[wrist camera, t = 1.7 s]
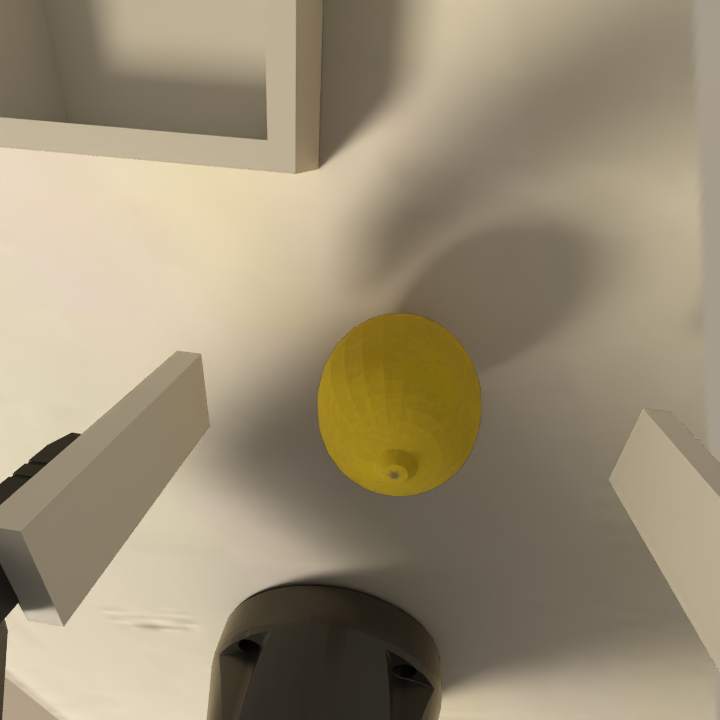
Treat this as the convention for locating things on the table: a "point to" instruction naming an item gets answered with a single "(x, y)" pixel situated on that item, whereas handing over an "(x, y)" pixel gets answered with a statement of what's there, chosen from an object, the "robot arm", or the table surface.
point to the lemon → (399, 404)
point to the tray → (164, 80)
